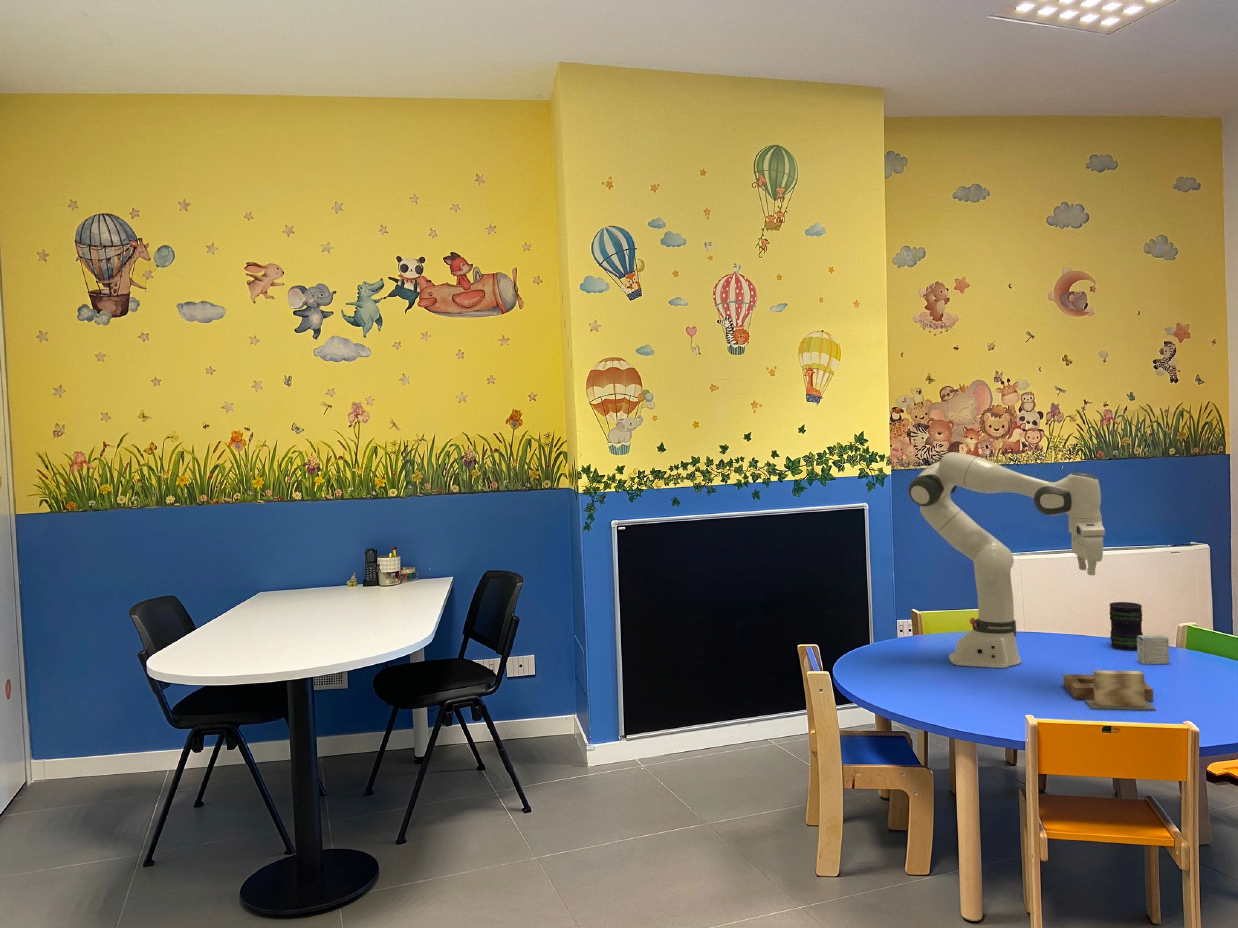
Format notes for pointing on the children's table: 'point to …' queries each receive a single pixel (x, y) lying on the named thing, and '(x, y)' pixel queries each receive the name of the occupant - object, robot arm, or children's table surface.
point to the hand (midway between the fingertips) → (1086, 572)
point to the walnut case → (1090, 687)
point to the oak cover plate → (1119, 688)
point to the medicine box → (1153, 649)
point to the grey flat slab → (1094, 706)
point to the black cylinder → (1125, 625)
